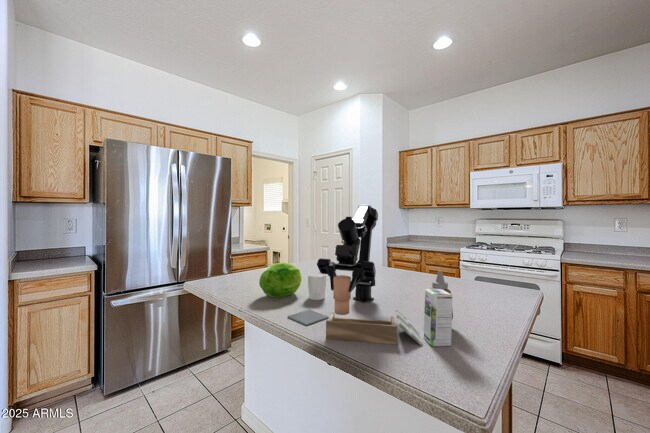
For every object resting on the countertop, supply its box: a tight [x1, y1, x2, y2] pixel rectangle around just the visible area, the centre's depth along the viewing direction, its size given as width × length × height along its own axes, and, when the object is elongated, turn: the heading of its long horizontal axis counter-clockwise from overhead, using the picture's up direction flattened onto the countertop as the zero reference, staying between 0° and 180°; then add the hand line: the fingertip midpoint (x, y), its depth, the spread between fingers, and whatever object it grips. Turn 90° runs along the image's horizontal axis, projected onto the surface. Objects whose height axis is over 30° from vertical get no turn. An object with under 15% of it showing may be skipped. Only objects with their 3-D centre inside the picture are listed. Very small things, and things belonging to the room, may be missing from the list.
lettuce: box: [259, 262, 302, 299], centre depth 124 cm, size 15×23×16 cm
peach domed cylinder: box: [332, 275, 352, 316], centre depth 89 cm, size 5×5×11 cm
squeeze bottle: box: [429, 270, 454, 320], centre depth 92 cm, size 8×8×18 cm
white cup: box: [307, 272, 327, 301], centre depth 121 cm, size 8×8×10 cm
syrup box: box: [423, 288, 453, 347], centre depth 81 cm, size 6×6×14 cm
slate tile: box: [287, 309, 330, 327], centre depth 98 cm, size 10×10×1 cm
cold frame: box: [325, 309, 424, 346], centre depth 87 cm, size 14×27×6 cm, turn 81°
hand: (340, 290), depth 88 cm, fingers closed on peach domed cylinder, 5 cm apart
